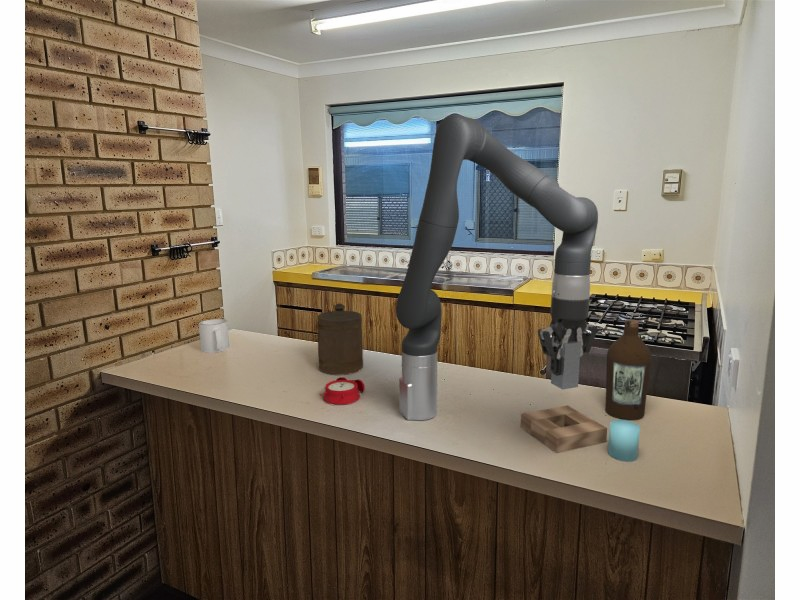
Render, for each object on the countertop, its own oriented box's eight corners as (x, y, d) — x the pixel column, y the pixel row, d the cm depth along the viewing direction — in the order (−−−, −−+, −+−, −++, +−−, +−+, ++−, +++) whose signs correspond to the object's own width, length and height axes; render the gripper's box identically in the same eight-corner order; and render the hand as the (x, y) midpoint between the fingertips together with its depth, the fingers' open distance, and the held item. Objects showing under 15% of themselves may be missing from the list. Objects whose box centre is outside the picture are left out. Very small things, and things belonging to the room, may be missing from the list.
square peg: (562, 389, 108) (565, 344, 106) (550, 383, 111) (553, 339, 109) (578, 387, 109) (581, 342, 107) (566, 380, 113) (568, 337, 111)
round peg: (622, 463, 109) (624, 433, 108) (601, 451, 115) (604, 422, 113) (643, 458, 111) (646, 428, 110) (622, 446, 117) (625, 417, 115)
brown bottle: (602, 402, 141) (609, 314, 136) (645, 407, 137) (653, 317, 132) (602, 417, 132) (609, 323, 126) (648, 424, 128) (657, 327, 123)
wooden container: (363, 360, 180) (362, 299, 175) (362, 374, 165) (360, 308, 161) (321, 361, 179) (319, 299, 175) (316, 375, 165) (313, 309, 160)
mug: (235, 352, 190) (233, 324, 188) (207, 357, 185) (205, 328, 183) (224, 343, 201) (222, 317, 199) (197, 348, 195) (195, 321, 193)
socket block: (556, 453, 114) (557, 438, 113) (520, 427, 127) (521, 414, 126) (606, 441, 119) (607, 427, 118) (566, 418, 132) (567, 405, 131)
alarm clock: (314, 392, 142) (338, 364, 154) (317, 410, 144) (341, 382, 157) (347, 397, 138) (369, 368, 151) (350, 416, 140) (372, 386, 153)
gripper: (552, 300, 100) (547, 383, 104) (610, 295, 105) (604, 374, 109) (530, 294, 107) (526, 371, 111) (586, 289, 112) (580, 364, 116)
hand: (565, 372), depth 110 cm, fingers closed on square peg, 4 cm apart
